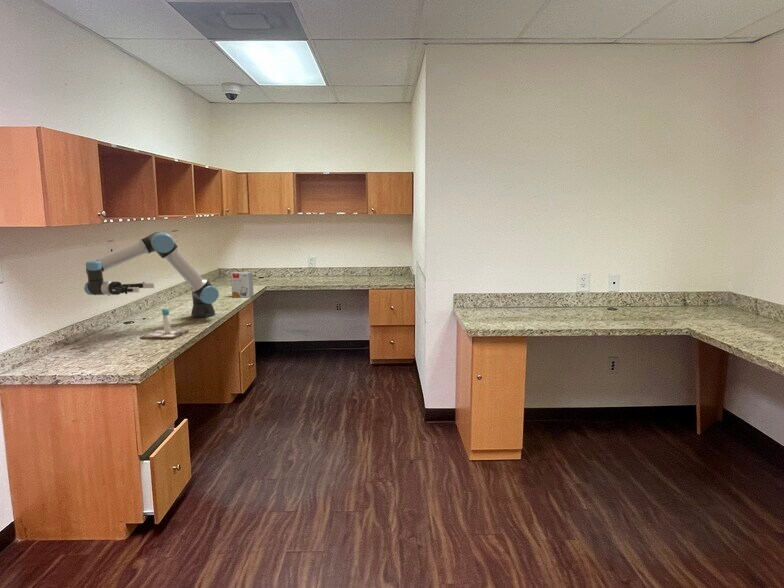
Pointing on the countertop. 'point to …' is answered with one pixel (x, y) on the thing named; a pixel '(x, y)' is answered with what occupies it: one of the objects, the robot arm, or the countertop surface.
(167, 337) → the clipboard
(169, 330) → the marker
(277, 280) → the countertop surface
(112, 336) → the countertop surface
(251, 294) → the hard drive box
